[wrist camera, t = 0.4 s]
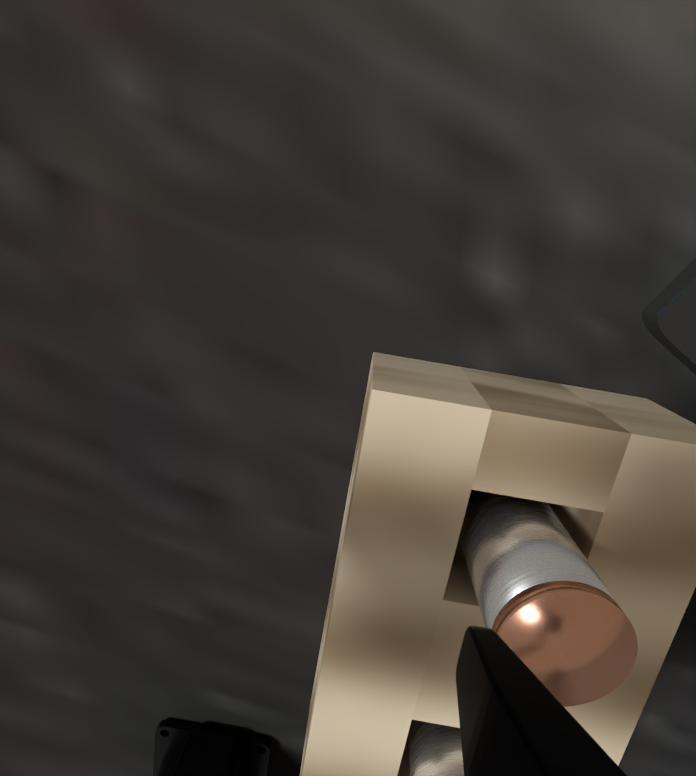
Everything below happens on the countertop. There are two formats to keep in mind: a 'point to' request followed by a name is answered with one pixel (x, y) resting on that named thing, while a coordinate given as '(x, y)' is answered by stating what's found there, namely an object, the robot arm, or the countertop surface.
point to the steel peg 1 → (434, 750)
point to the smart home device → (676, 317)
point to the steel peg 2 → (546, 598)
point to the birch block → (446, 558)
